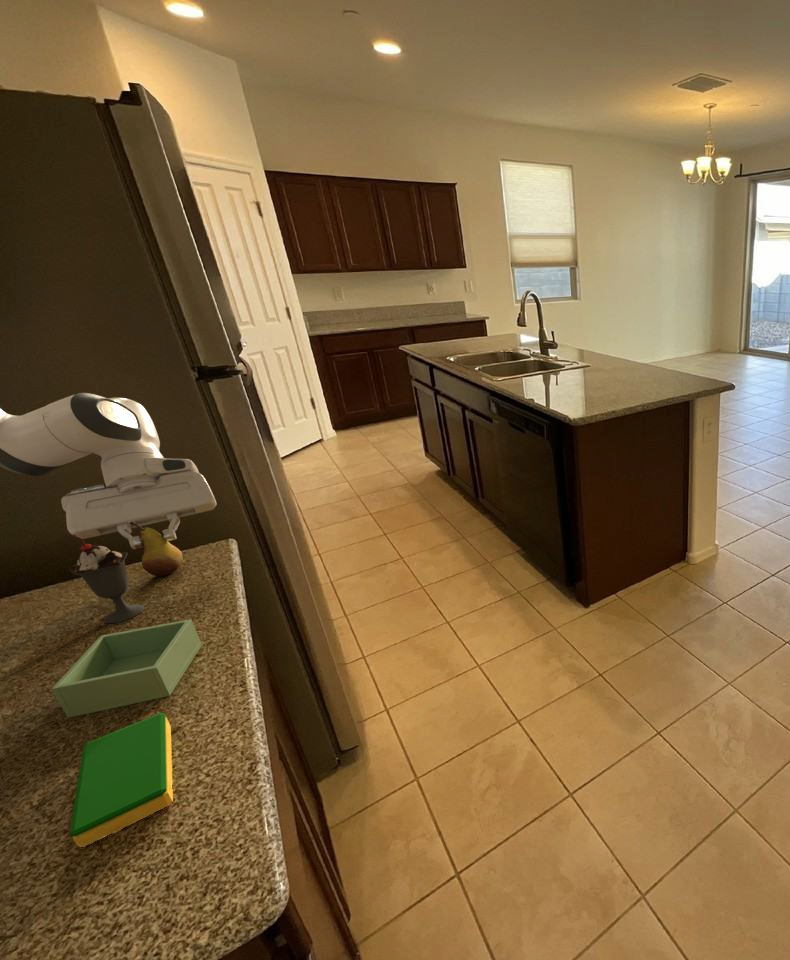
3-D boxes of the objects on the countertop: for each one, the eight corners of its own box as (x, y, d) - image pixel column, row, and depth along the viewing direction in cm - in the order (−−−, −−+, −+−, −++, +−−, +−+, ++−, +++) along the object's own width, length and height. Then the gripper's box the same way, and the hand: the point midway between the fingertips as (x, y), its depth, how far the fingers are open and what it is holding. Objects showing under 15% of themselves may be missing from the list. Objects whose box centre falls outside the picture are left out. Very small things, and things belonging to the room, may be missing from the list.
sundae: (100, 611, 87) (60, 532, 81) (153, 597, 90) (118, 520, 84) (92, 632, 82) (49, 549, 76) (148, 616, 85) (111, 536, 79)
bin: (67, 718, 66) (50, 689, 64) (114, 662, 75) (100, 635, 74) (170, 695, 69) (156, 667, 67) (202, 644, 79) (191, 618, 77)
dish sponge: (171, 725, 65) (164, 710, 64) (173, 805, 55) (165, 789, 54) (92, 758, 61) (83, 743, 60) (79, 852, 51) (68, 835, 50)
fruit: (191, 570, 98) (168, 513, 93) (151, 584, 94) (125, 525, 89) (183, 561, 101) (160, 505, 97) (144, 574, 97) (118, 516, 92)
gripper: (51, 484, 89) (66, 556, 86) (201, 457, 101) (220, 520, 98) (66, 500, 94) (81, 568, 91) (208, 472, 106) (226, 532, 103)
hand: (154, 543), depth 94 cm, fingers closed on fruit, 3 cm apart
